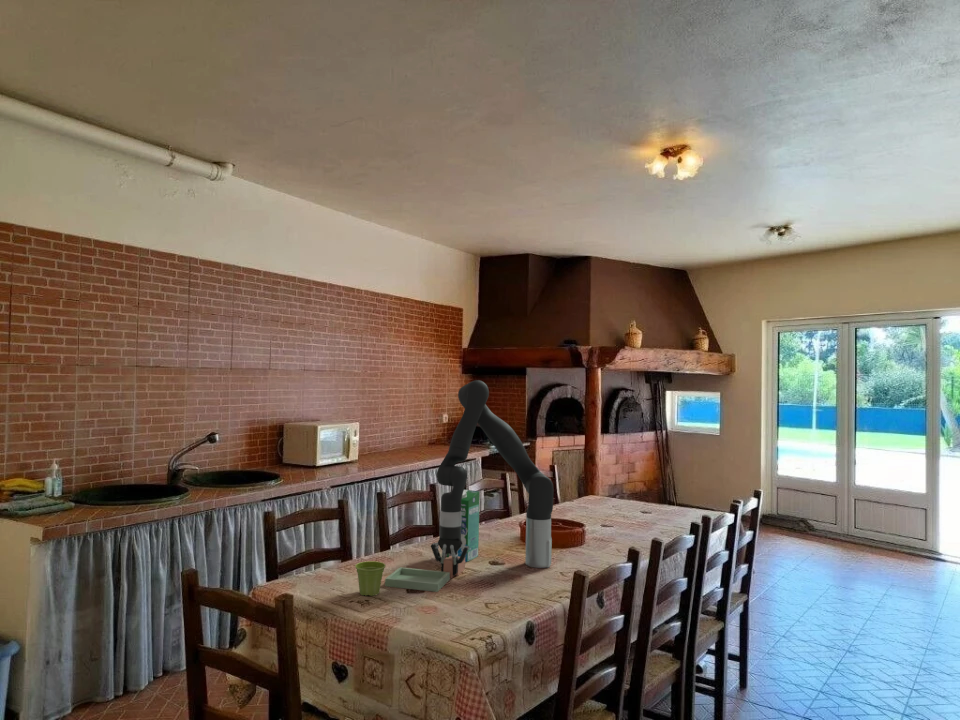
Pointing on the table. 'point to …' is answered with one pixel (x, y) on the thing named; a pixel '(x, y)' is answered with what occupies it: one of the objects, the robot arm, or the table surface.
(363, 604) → the table surface
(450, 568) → the collar
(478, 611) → the table surface
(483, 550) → the table surface
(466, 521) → the milk carton
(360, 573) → the plant pot
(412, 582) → the tray
